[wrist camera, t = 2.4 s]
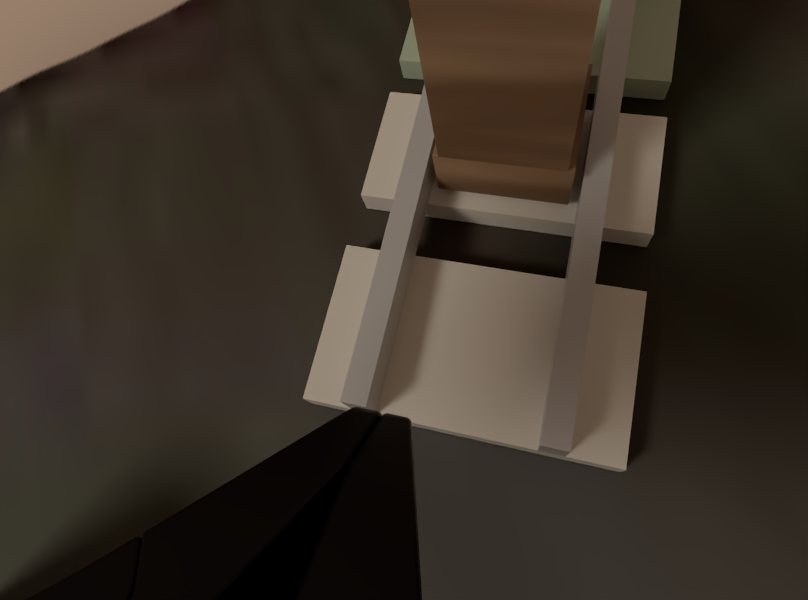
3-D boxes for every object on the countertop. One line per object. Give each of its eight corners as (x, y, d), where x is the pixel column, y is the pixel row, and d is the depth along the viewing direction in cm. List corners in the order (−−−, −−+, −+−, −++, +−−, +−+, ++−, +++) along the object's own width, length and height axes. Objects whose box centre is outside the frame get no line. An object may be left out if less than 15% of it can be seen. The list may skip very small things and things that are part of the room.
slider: (568, 204, 19) (624, -61, 10) (438, 188, 20) (386, -68, 11) (585, 104, 20) (649, -215, 11) (461, 93, 21) (430, -208, 12)
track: (619, 472, 18) (645, 464, 14) (312, 403, 20) (274, 382, 16) (680, -35, 23) (708, -123, 20) (437, -44, 26) (427, -124, 22)
